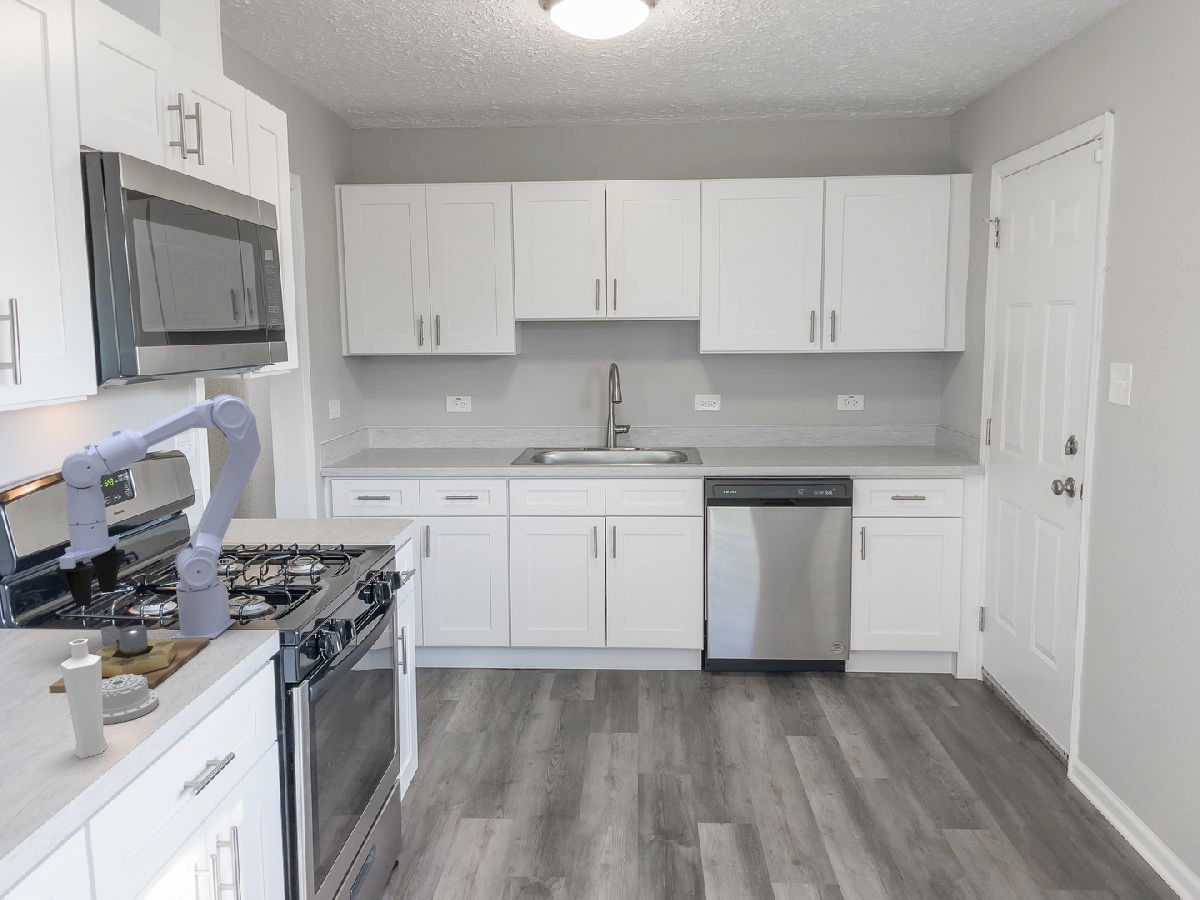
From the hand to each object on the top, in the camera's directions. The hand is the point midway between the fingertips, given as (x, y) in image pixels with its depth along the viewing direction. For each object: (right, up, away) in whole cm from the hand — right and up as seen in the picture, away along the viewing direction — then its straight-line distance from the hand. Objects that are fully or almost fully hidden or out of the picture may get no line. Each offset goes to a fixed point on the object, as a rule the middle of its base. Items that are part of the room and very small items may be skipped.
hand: (96, 598), depth 153 cm
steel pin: (+11, -9, -9) cm, 17 cm away
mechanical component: (+17, -13, -24) cm, 32 cm away
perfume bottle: (+20, -14, -36) cm, 44 cm away
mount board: (+10, -10, -7) cm, 16 cm away
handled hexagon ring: (+8, -9, -6) cm, 13 cm away
